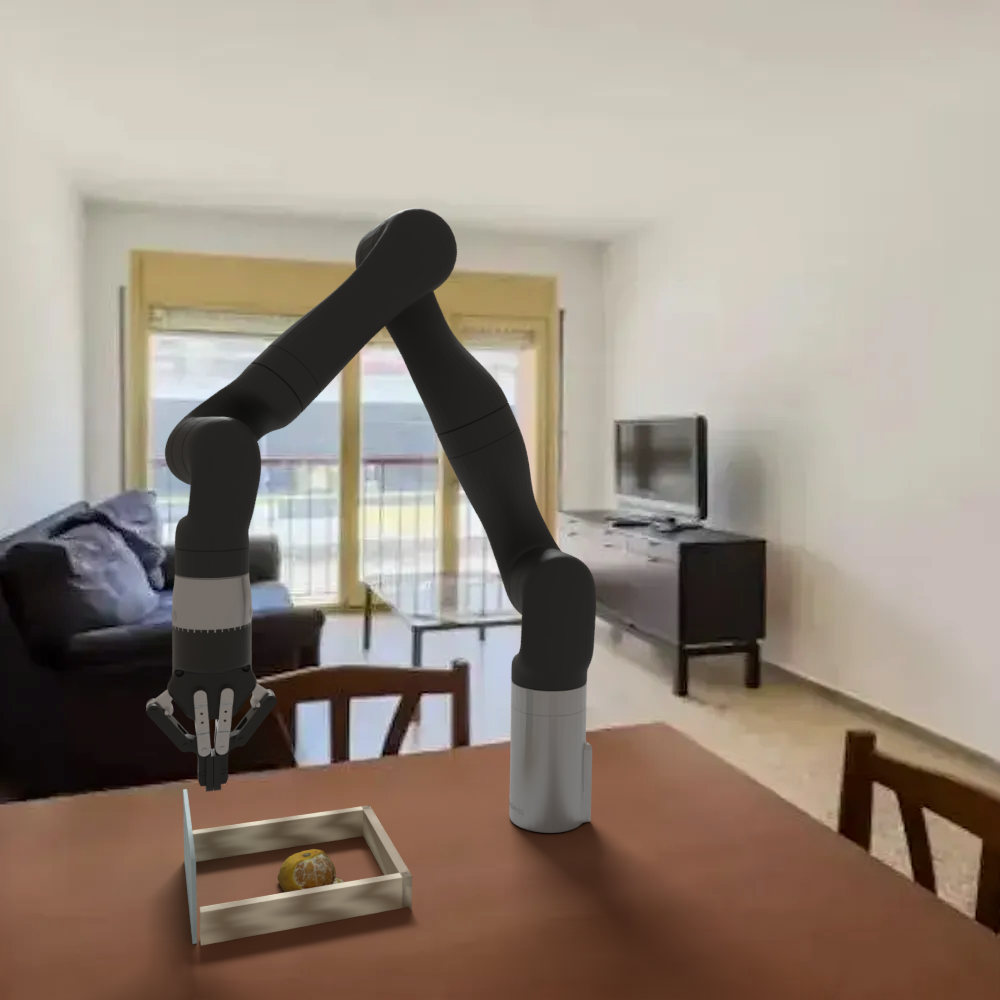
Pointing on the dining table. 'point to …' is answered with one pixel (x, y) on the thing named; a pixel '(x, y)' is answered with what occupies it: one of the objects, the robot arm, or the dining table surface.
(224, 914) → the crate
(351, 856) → the dining table surface
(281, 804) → the dining table surface
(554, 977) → the dining table surface
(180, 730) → the robot arm
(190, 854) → the panel
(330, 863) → the fruit
